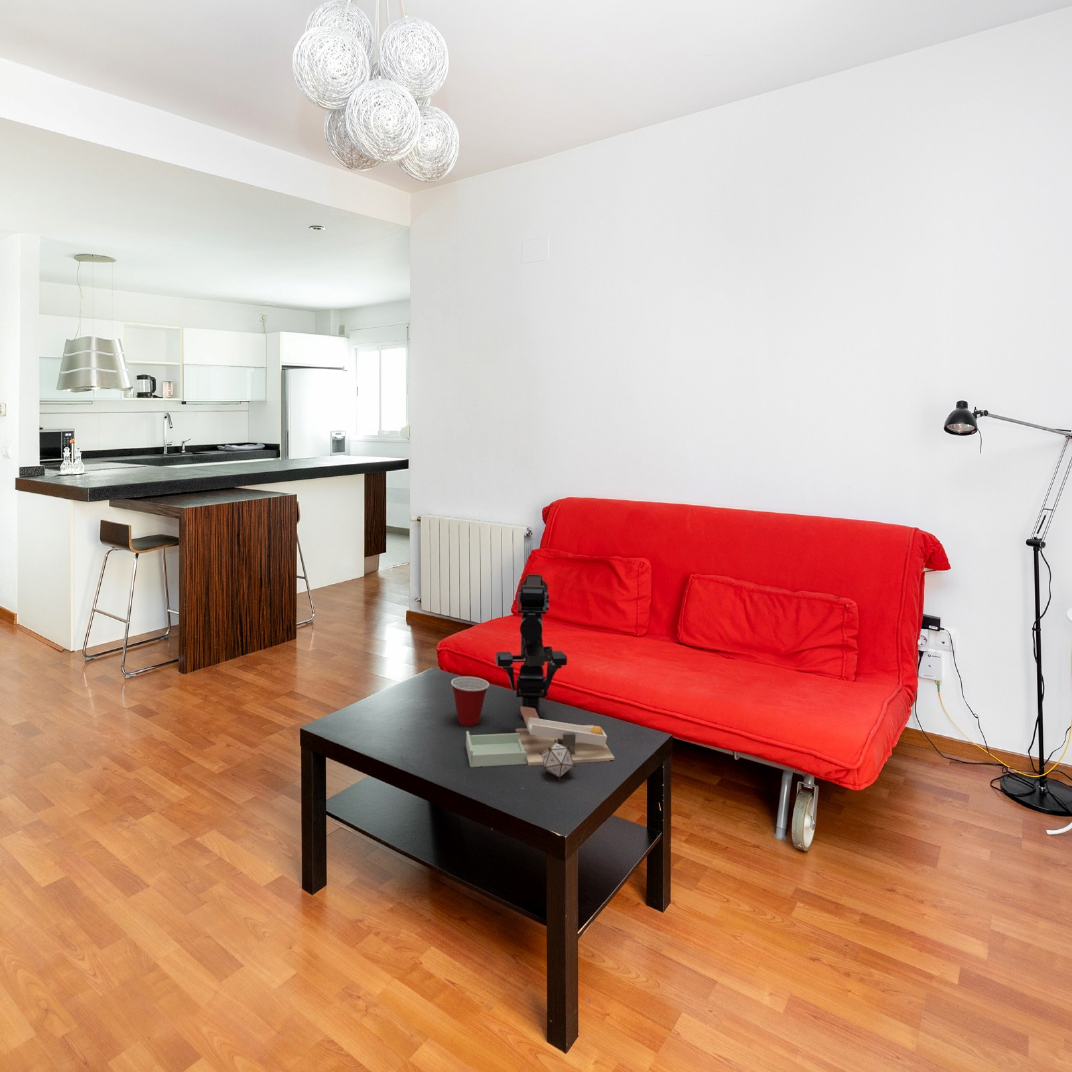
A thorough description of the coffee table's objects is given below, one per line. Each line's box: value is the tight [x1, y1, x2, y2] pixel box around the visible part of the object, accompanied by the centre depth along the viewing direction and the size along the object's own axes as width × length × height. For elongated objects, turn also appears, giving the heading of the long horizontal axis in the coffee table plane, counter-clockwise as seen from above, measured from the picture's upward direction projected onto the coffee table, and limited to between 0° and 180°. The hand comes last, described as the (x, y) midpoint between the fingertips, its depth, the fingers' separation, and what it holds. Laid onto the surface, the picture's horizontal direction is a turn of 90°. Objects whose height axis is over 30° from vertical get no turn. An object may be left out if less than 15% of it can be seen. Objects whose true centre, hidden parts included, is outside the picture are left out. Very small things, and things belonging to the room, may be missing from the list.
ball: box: [591, 725, 604, 735], centre depth 189 cm, size 3×3×3 cm
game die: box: [539, 739, 578, 782], centre depth 174 cm, size 9×8×10 cm
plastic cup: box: [450, 676, 490, 727], centre depth 205 cm, size 11×11×12 cm
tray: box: [465, 730, 528, 768], centre depth 185 cm, size 12×14×4 cm
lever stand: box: [515, 722, 615, 766], centre depth 191 cm, size 21×22×6 cm
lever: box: [519, 705, 608, 746], centre depth 193 cm, size 17×20×3 cm
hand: (530, 690), depth 196 cm, fingers open, 9 cm apart
